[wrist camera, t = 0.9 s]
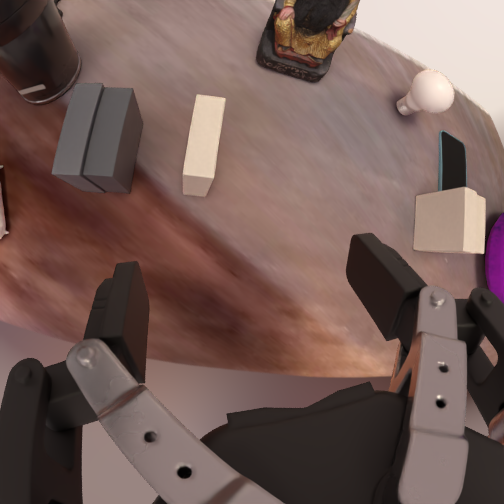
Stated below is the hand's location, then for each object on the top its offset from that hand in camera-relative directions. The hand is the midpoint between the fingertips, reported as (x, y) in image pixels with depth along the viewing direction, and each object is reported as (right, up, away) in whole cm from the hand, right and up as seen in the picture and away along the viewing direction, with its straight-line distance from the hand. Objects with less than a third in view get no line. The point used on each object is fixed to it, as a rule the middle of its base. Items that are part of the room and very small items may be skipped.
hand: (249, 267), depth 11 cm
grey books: (-16, +12, +21) cm, 29 cm away
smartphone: (+33, +13, +32) cm, 48 cm away
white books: (+27, +5, +30) cm, 40 cm away
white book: (-6, +11, +23) cm, 26 cm away
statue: (+6, +27, +25) cm, 38 cm away
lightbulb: (+23, +23, +29) cm, 43 cm away
